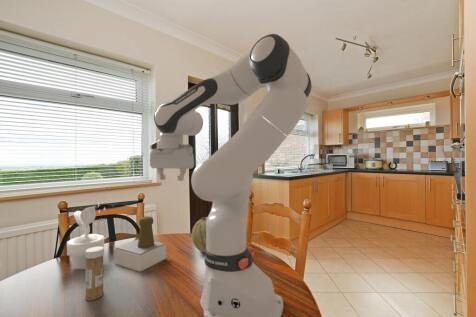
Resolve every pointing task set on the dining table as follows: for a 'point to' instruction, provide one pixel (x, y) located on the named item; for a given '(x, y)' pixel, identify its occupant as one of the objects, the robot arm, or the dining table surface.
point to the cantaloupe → (200, 234)
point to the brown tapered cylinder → (146, 232)
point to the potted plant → (84, 238)
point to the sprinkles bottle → (94, 273)
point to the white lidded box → (139, 255)
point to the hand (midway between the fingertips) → (171, 180)
